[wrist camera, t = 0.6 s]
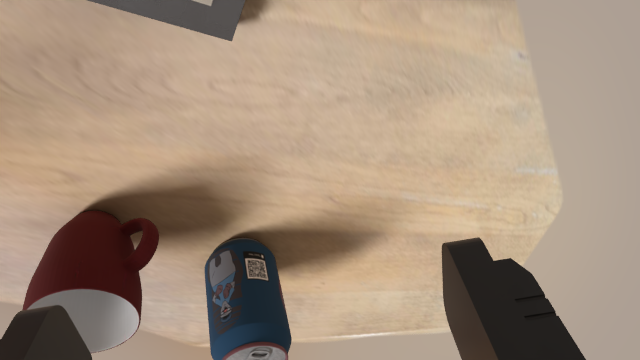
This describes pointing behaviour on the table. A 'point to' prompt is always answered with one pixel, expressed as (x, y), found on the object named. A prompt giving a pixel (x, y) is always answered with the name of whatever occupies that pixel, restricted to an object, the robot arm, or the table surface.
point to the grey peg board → (187, 13)
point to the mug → (95, 276)
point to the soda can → (245, 303)
